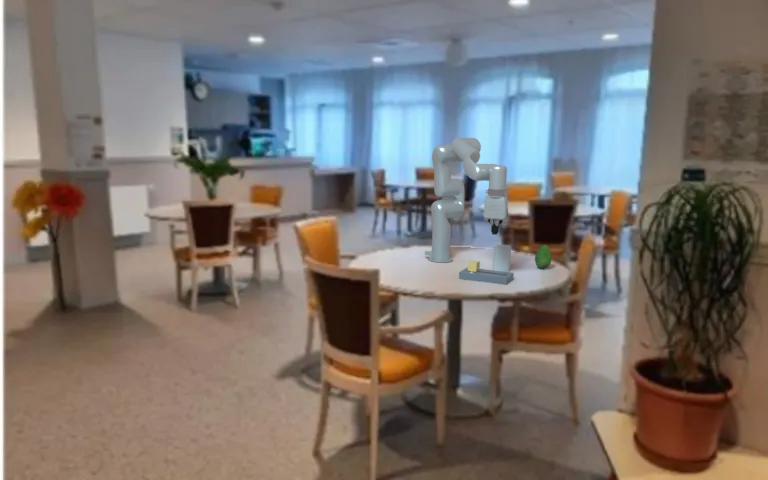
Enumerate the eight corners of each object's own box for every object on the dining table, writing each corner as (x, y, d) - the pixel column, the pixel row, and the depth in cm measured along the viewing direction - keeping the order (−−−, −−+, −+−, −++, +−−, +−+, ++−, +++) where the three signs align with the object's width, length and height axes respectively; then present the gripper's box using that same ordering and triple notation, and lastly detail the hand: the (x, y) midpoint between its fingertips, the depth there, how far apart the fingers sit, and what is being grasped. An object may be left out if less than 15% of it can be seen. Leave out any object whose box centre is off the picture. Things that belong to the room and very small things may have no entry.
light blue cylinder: (510, 269, 287) (512, 245, 285) (508, 272, 279) (509, 247, 277) (494, 267, 289) (495, 243, 287) (491, 271, 282) (492, 246, 280)
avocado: (554, 269, 287) (555, 245, 285) (542, 271, 284) (543, 246, 282) (542, 266, 294) (543, 243, 292) (530, 267, 291) (532, 244, 288)
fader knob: (467, 270, 266) (468, 262, 265) (471, 268, 270) (471, 260, 270) (476, 271, 264) (476, 263, 263) (479, 269, 269) (479, 261, 268)
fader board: (458, 278, 265) (459, 272, 264) (467, 273, 275) (467, 267, 275) (506, 284, 255) (506, 277, 254) (513, 279, 266) (513, 272, 265)
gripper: (478, 193, 257) (476, 233, 260) (511, 195, 251) (509, 237, 254) (483, 191, 264) (481, 231, 267) (515, 193, 257) (513, 234, 260)
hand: (494, 234), depth 260 cm, fingers closed
